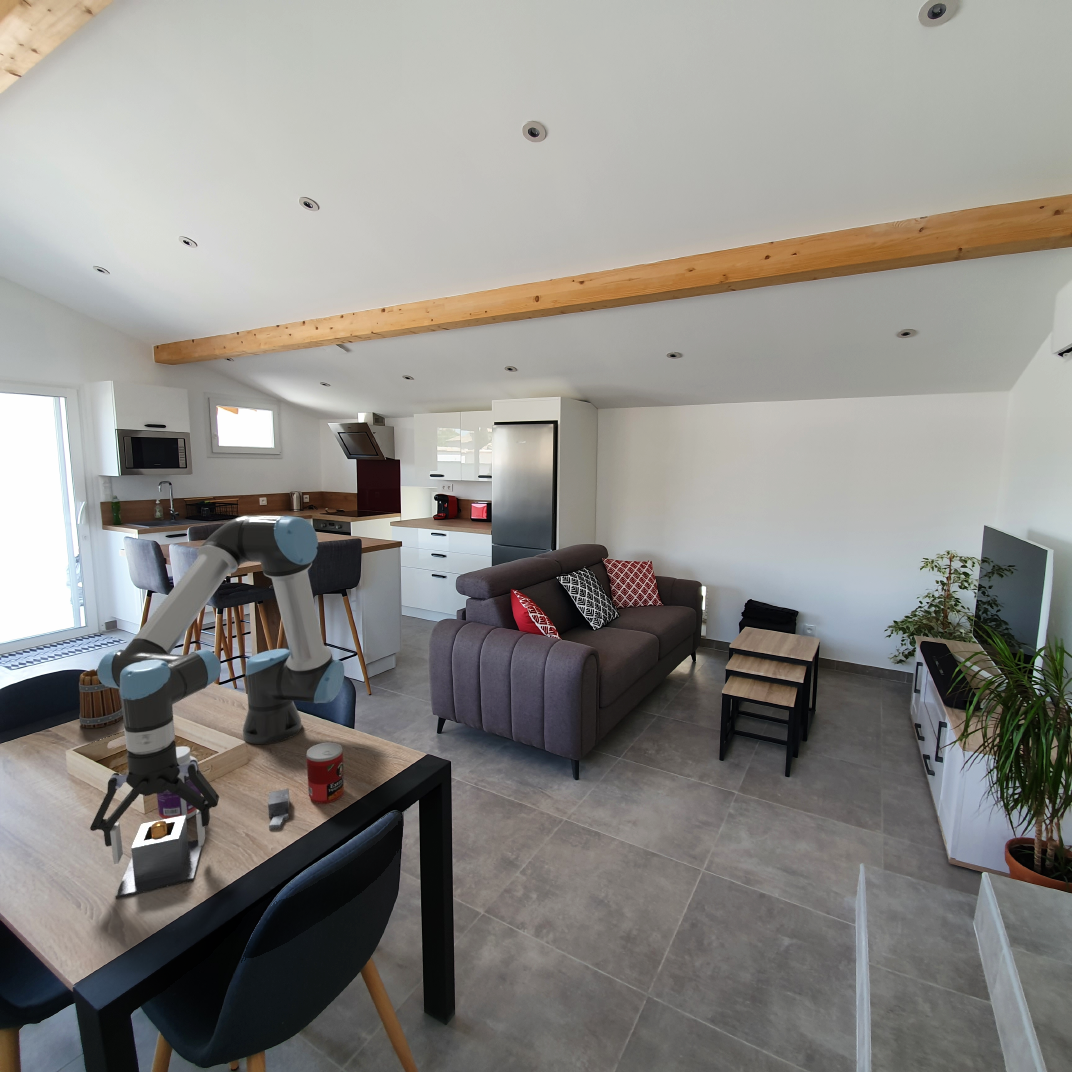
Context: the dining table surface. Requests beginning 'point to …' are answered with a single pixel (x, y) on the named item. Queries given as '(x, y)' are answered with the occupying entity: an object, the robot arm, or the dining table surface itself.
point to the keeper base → (187, 875)
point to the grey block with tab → (278, 807)
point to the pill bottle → (173, 803)
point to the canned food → (325, 772)
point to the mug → (98, 702)
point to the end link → (160, 850)
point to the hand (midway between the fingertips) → (161, 850)
